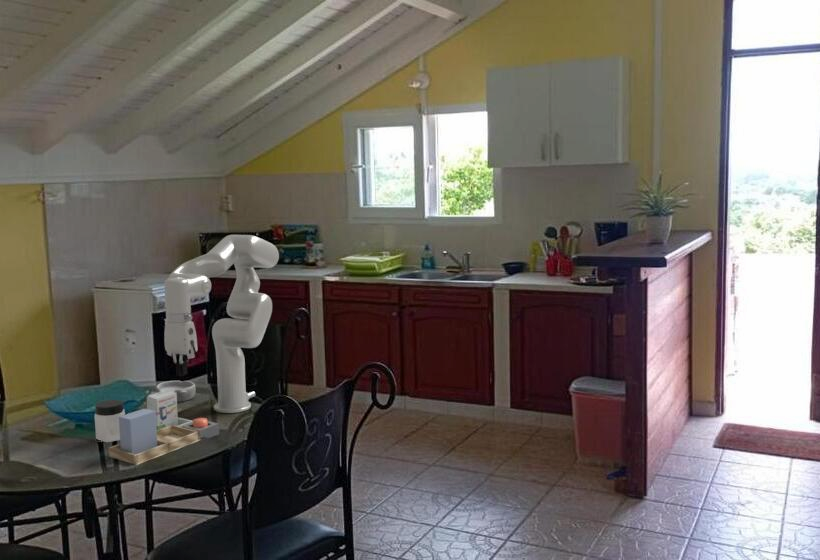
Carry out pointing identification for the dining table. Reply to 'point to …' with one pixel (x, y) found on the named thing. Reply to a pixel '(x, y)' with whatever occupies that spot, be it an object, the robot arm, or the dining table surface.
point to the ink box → (164, 408)
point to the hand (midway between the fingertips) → (181, 374)
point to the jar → (108, 420)
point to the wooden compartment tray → (158, 444)
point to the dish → (178, 389)
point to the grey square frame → (205, 429)
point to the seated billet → (138, 431)
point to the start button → (200, 423)
